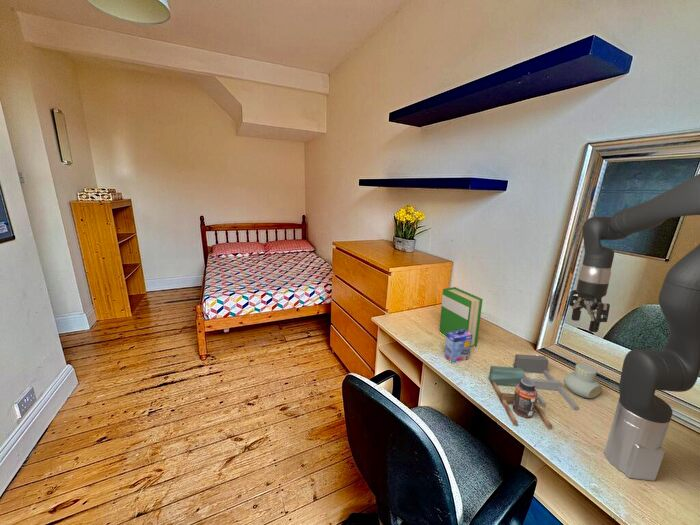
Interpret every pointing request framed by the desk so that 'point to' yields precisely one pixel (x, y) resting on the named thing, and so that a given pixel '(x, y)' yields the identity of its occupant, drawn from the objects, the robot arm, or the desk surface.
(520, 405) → the supplement bottle
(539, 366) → the charcoal frame
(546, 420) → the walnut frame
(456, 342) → the ink cartridge box
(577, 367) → the air freshener
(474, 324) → the hardback book
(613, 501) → the desk surface
